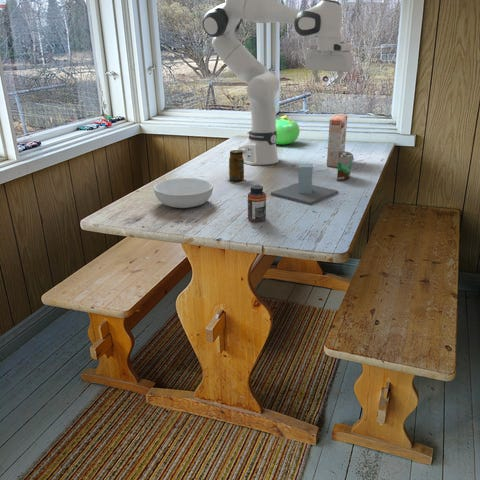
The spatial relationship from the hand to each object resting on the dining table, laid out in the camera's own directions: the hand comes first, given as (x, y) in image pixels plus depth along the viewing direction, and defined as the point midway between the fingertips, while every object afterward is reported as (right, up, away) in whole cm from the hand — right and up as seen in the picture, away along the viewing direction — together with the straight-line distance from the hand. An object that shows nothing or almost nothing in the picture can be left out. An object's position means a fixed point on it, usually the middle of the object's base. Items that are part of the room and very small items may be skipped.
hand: (327, 82), depth 202 cm
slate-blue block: (-10, -44, -11) cm, 47 cm away
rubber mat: (-10, -45, -11) cm, 48 cm away
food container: (+9, -37, +8) cm, 39 cm away
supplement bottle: (-29, -56, -35) cm, 72 cm away
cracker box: (+9, -28, +30) cm, 42 cm away
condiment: (-36, -38, +7) cm, 53 cm away
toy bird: (-12, -12, +68) cm, 70 cm away
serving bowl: (-55, -50, -20) cm, 77 cm away
